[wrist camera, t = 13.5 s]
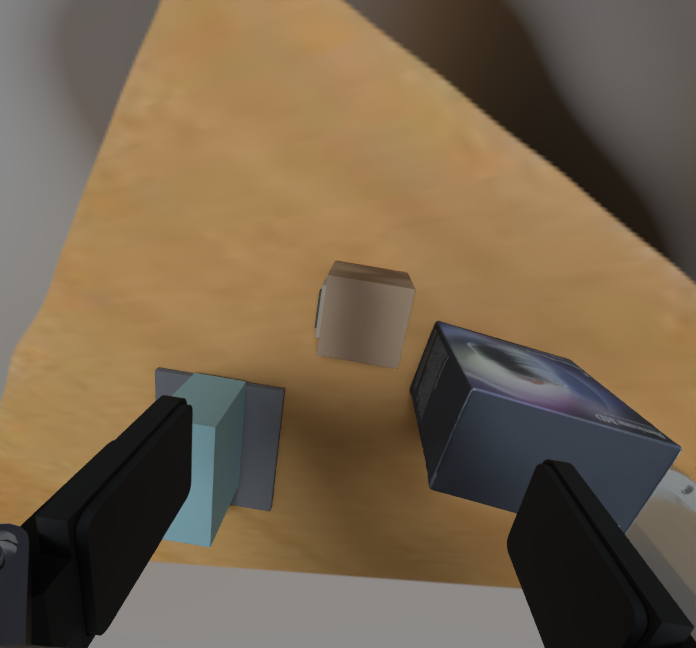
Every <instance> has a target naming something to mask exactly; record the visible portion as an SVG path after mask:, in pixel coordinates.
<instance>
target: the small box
mask: <svg viewBox="0 0 696 648" xmlns="http://www.w3.org/2000/svg"><path fill="white" fill-rule="evenodd" d="M410 393H411V396H412V399H413V404H414V409H415V413H416V418H417V423H418V428H419V433H420V438H421V442H422V447H423V452H424V456H425V461H426V468H427V472H428V483H429V488H430V489H431V490H434V491H438V492H442V493H446V494H449V495H453V496H456V497H460V498H464V499H467V500H471V501H474V502H478V503H482V504H485V505H489V506H492V507H496V508H499V509H503V510H507V511H510V512H514V513H518V510H519V508H520V505H521V503H522V500H523V498H524V495H525V493H526V490H527V488H528V485H529V483H530V480H531V478H532V475H533V473H534V470H535V468H536V466H537V465H538V464H542V463H543V461H545V460H546V459H550V460H556V461H562V462H568V463H571V464H572V465H573V466H574V467H575V469H576V470H577V471H578V473H579V474H580V475H581V477H582V478H583V479H584V481H585V482H586V483H587V485H588V486H589V487H590V489H591V490H592V491H593V493H594V494H595V495H596V497H597V498H598V499H599V501H600V502H601V503H602V505H603V506H604V507H605V509H606V510H607V511H608V513H609V514H610V515H611V517H612V518H613V519H614V521H615V522H616V523H617V525H618V526H619V527H620V529H621V530H622V531H623V532H624V534H625V535H626V533H627V531H628V530H629V529H630V527H631V525H632V524H633V522H634V521H635V519H636V518H637V516H638V515H639V513H640V512H641V511H642V509H643V508H644V506H645V504H646V503H647V501H648V500H649V499H650V497H651V496H652V494H653V493H654V491H655V490H656V488H657V487H658V485H659V483H660V482H661V481H662V479H663V478H664V476H665V475H666V474H667V472H668V470H669V469H670V467H671V466H672V464H673V463H674V461H675V460H676V458H677V457H678V455H679V454H680V452H681V451H682V447H681V446H679V445H678V444H676V443H675V442H674V441H672V440H671V439H670V438H668V437H667V436H666V435H664V434H663V433H662V432H660V431H659V430H658V429H657V428H655V427H654V426H653V425H652V424H651V423H649V422H648V421H647V420H645V419H644V418H643V417H642V416H640V415H639V414H638V413H637V412H635V411H634V410H633V409H631V408H630V407H629V406H628V405H626V404H625V403H624V402H623V401H621V400H620V399H619V398H618V397H616V396H615V395H614V394H613V393H611V392H610V391H609V390H607V389H606V388H605V387H604V386H602V385H601V384H600V383H599V382H597V381H596V380H595V379H594V378H592V377H591V376H590V375H589V374H587V373H586V372H585V371H584V370H582V369H581V368H580V367H579V366H577V365H576V364H575V363H574V362H572V361H571V360H569V359H566V358H563V357H559V356H556V355H553V354H549V353H546V352H542V351H539V350H535V349H532V348H529V347H526V346H522V345H519V344H515V343H512V342H508V341H505V340H502V339H498V338H495V337H492V336H488V335H485V334H481V333H478V332H474V331H471V330H468V329H464V328H461V327H457V326H454V325H450V324H447V323H443V322H441V321H437V322H436V323H435V325H434V328H433V330H432V333H431V335H430V338H429V340H428V343H427V345H426V348H425V351H424V353H423V356H422V358H421V361H420V364H419V366H418V369H417V372H416V374H415V377H414V379H413V382H412V385H411V387H410Z"/></svg>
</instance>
